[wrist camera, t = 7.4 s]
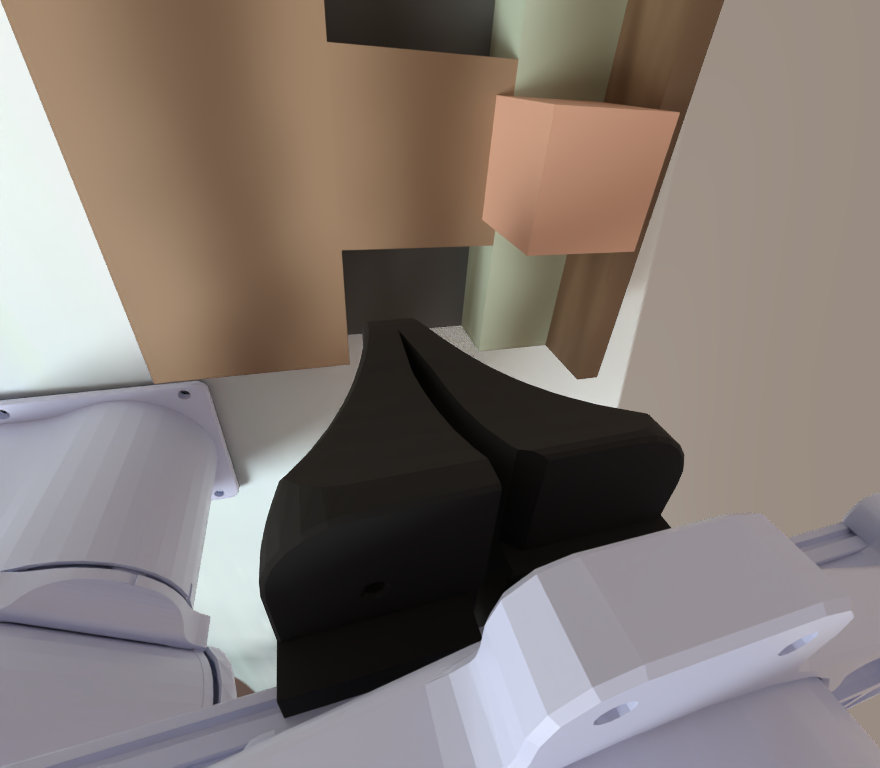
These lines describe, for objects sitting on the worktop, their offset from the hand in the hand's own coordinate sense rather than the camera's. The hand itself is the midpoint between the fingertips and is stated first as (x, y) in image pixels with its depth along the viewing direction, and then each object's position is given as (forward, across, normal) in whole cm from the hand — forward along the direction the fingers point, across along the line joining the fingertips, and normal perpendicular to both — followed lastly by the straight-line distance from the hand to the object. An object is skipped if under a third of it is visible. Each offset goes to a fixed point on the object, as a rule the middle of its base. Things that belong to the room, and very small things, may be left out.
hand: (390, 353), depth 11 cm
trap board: (+9, -1, -4) cm, 10 cm away
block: (+6, -7, -4) cm, 10 cm away
